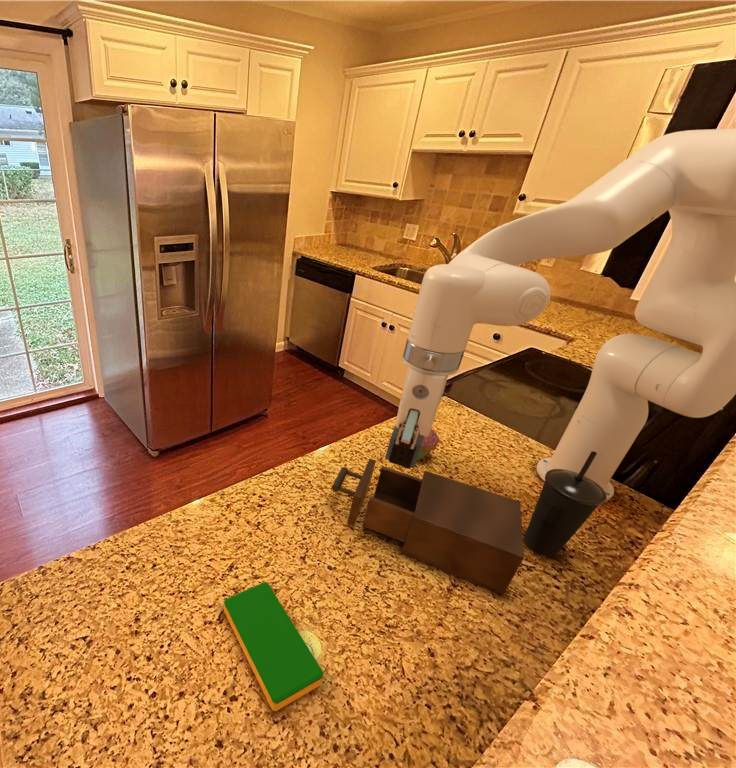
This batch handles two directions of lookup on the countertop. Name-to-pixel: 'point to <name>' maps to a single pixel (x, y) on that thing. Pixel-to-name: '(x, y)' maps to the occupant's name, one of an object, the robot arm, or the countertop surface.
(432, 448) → the cupcake
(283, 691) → the dish sponge
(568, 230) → the robot arm
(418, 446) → the block
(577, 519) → the drinking cup
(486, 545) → the cabinet
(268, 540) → the countertop surface
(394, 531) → the drawer
